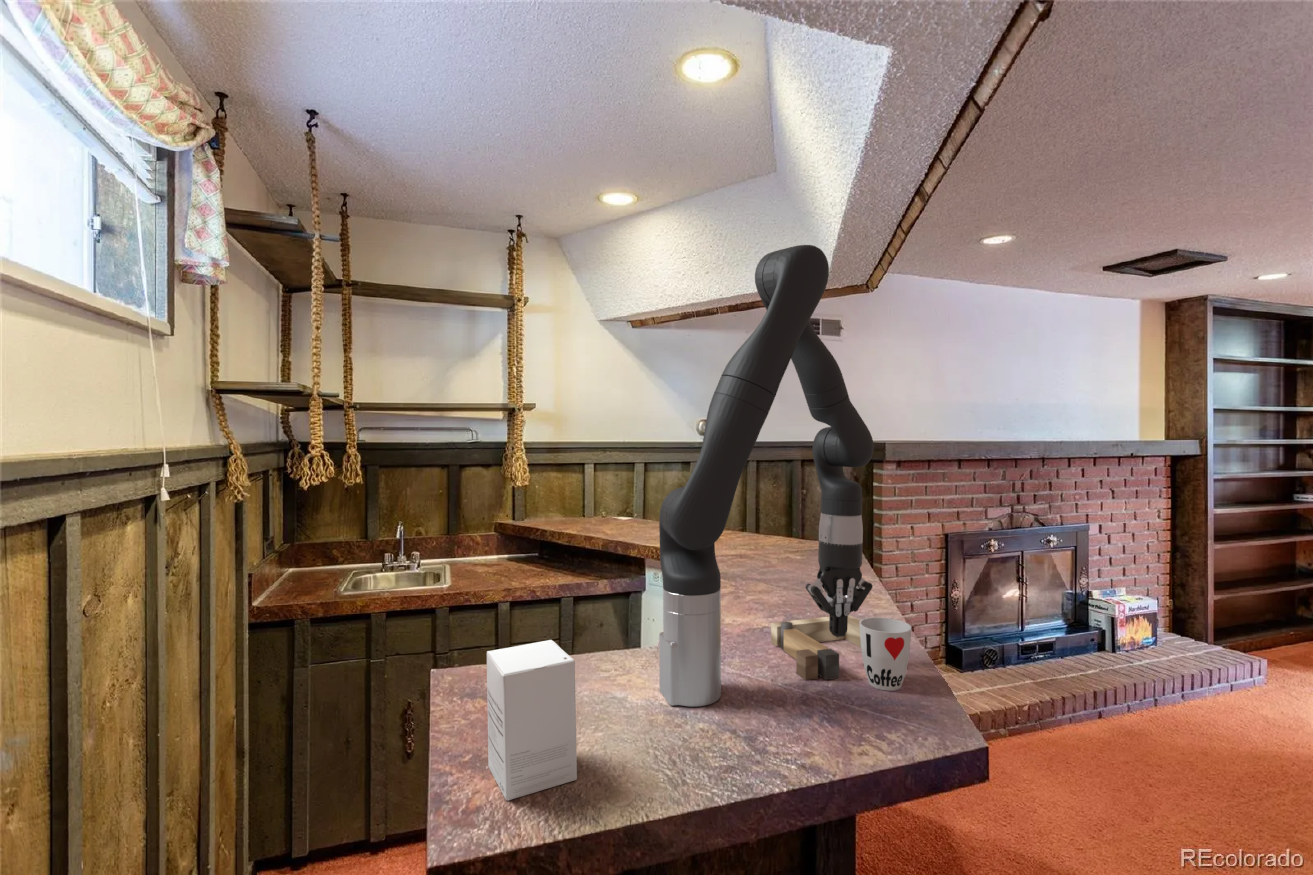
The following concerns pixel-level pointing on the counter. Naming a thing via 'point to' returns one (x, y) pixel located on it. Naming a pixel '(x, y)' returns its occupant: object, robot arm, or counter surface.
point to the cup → (885, 651)
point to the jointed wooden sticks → (820, 633)
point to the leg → (800, 641)
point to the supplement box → (531, 718)
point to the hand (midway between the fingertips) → (838, 635)
